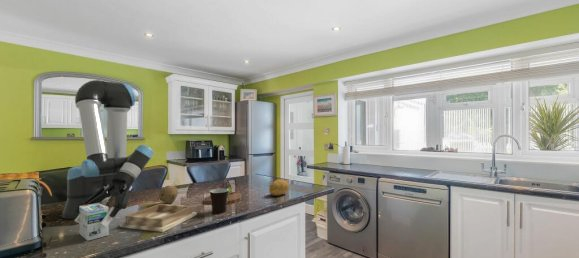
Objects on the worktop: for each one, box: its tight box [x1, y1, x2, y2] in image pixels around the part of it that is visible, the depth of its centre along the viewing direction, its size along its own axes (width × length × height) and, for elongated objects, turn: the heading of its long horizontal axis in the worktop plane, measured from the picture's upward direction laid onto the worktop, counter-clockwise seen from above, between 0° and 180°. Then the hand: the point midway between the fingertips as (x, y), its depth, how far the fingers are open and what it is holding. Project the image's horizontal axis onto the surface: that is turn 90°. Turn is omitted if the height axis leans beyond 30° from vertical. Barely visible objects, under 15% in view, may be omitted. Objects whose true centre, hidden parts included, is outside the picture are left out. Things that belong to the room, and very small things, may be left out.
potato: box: [268, 178, 289, 197], centre depth 154 cm, size 10×13×9 cm
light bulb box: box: [79, 202, 110, 242], centre depth 96 cm, size 11×7×11 cm, turn 52°
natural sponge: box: [159, 184, 179, 205], centre depth 137 cm, size 9×9×10 cm
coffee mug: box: [209, 188, 228, 214], centre depth 124 cm, size 12×9×10 cm
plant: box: [203, 179, 243, 205], centre depth 145 cm, size 20×20×11 cm
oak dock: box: [119, 203, 198, 233], centre depth 111 cm, size 21×21×4 cm
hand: (90, 223), depth 94 cm, fingers closed on light bulb box, 12 cm apart
